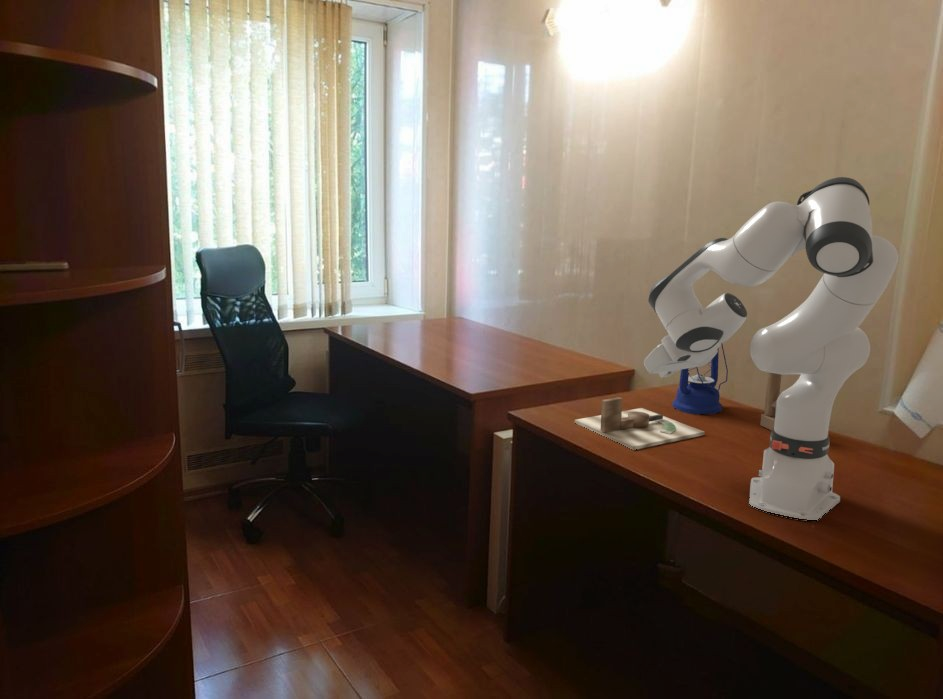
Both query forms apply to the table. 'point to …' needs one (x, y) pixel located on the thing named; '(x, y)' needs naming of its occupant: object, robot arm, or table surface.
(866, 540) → the table surface
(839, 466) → the table surface
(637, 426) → the brown wooden long piece
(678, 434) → the tuner board
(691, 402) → the lantern
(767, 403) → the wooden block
